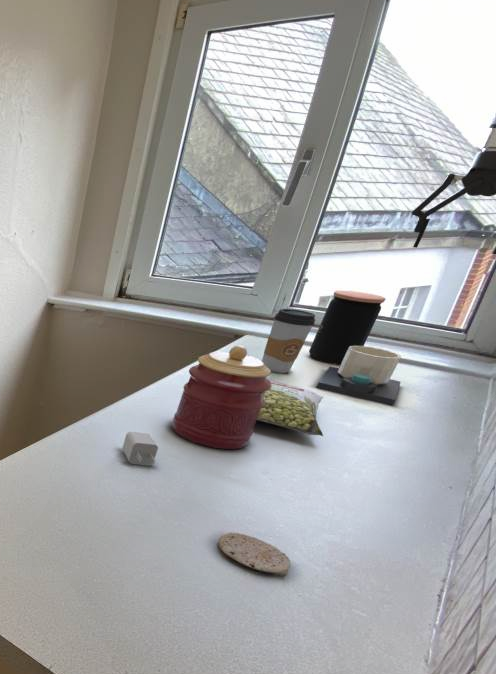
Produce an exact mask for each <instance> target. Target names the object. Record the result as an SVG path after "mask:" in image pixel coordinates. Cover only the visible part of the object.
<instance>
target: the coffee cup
mask: <svg viewBox="0 0 496 674" xmlns="http://www.w3.org/2000/svg"><path fill="white" fill-rule="evenodd" d="M315 318H316V314H315V313H313V312H311V311H306V310H302V309H301V310H300V309H294V308H293V309H292V308H280V309H279V311H278V312H276V314H275V316H274V317H273V323H272V325H271V329H270V332H269V335H268V338H267V341H266V344H265V347H264V351H263V354H262V359H261V361H262V362H263V363H264V365H265V366H266V367H268V368H269V369H270V370H271V373H279V374H287V373H288V372H290V371H291V369H292V367H293V365H294V363H295V361H296V359H297V358H298V356H299V354H300V352H301V351H302V349H303V347H304V344H305V342H306V340H307V338H308V336H309V334H310V333H311V330H312V328H313V326H315V322H316V319H315Z"/></svg>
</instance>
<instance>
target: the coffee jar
mask: <svg viewBox="0 0 496 674" xmlns="http://www.w3.org/2000/svg"><path fill="white" fill-rule="evenodd" d="M385 301H386V297H384V296H382V295H378V294H373V293H368V292H362V291H353V290H335V291H334V292H333V298H332V299H331V300H330V301H329V303H328V305H327V308H326V310H325V313H324V315H323V317H322V320H321V322H320V324H319V326H318V329H317V332H316V334H315V336H314V338H313V341H312V343H311V345H310V348H309V350H308V353H309V356H310V358H312V359H313V360H316V361H318V362H322V363H328V364H333V365H337V366H338V365H341V363H342V361H343V359H344V357H345V355H346V352H347V350H348V348H349V346H365V344H366V342H367V340H368V338H369V336H370V334H371V331H372V329H373V327H374V325H375V324H376V320H377V318H378V316H379V314H380V312H381V310H382V306H381V304H382V303H384V302H385Z"/></svg>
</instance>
